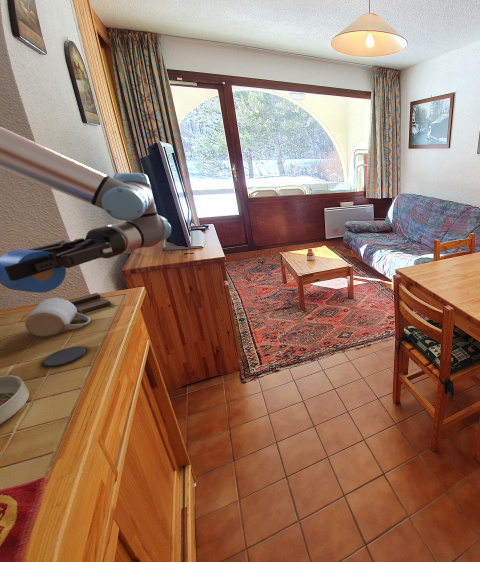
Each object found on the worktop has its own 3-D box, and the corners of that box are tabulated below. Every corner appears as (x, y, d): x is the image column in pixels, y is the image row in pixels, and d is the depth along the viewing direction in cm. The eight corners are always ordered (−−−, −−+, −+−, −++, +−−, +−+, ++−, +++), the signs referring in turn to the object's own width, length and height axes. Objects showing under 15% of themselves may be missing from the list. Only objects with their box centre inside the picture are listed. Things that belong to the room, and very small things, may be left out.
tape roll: (7, 297, 61) (-16, 258, 57) (53, 280, 69) (36, 244, 65) (27, 300, 60) (6, 260, 57) (72, 282, 68) (56, 245, 64)
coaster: (35, 366, 67) (34, 363, 66) (67, 347, 73) (66, 345, 73) (63, 368, 66) (62, 366, 66) (93, 350, 72) (92, 348, 72)
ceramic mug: (29, 342, 74) (16, 314, 72) (44, 326, 81) (32, 299, 78) (85, 332, 79) (75, 306, 76) (95, 318, 86) (86, 293, 83)
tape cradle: (112, 307, 91) (110, 301, 91) (83, 316, 86) (81, 310, 86) (99, 298, 97) (96, 292, 96) (71, 306, 92) (68, 300, 91)
